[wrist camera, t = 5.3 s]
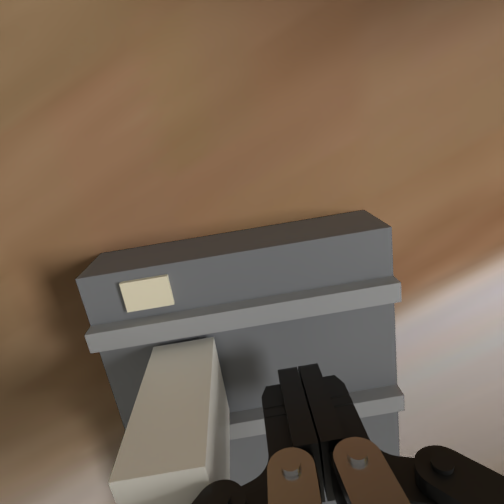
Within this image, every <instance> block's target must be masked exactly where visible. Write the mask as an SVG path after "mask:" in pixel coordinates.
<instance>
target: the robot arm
mask: <svg viewBox="0 0 504 504" xmlns="http://www.w3.org/2000/svg"><path fill="white" fill-rule="evenodd" d="M278 377H279V383H280V384H277V385H271V386H266V387H265V390H264V392H263V395H262V397H261V398H262V406H263V414H264V422H265V430H266V439H267V447H268V463H267V466H266V467H265V469H264V471H263V472H262V473H261V474H260V475H259V476H258V477H257V478H256V479H254V480H252V481H250V482H248V483H246V484H244V485H242V486H240V485H239V484H238V483H236V482H235V481H232V480H225V479H224V480H218V481H215V482H212V483H211V484H209V485H207V486H206V487H205V488H204V489H203V490H202V491H201V492H200V494H199V495H198V496H197V497H196V499H195V500H194V501H193V502H192V504H322V503H323V502H325V494H326V497H327V501H334V500H336V504H504V476H502V475H500V474H499V473H497V472H495V471H493V470H491V469H489V468H487V467H485V466H483V465H481V464H479V463H477V462H475V461H473V460H471V459H469V458H467V457H465V456H463V455H462V454H460V453H458V452H456V451H454V450H452V449H449V448H446V447H443V446H435V445H434V446H427V447H424V448H422V449H420V450H419V451H418V452H417V454H416V455H415V458H409V457H401V456H394V455H391V454H388V453H385V452H383V451H382V450H380V449H379V448H378V446H377V445H376V444H374V443H373V442H371V440H370V439H369V437H368V435H367V432H366V430H365V428H364V426H363V424H362V421H361V419H360V417H359V415H358V412H357V410H356V408H355V406H354V404H353V401H352V399H351V397H350V395H349V392H348V390H347V388H346V386H345V383H344V382H342V381H341V380H340V379H339V378H338V377H336V376H335V375H331V376H325V377H323V376H322V373H321V371H320V368H319V365H318V363H315V364H309V365H303V366H298V369H297V367H291V368H285V369H279V370H278ZM324 490H325V493H324Z"/></svg>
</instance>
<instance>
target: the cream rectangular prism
mask: <svg viewBox="0 0 504 504" xmlns="http://www.w3.org/2000/svg"><path fill="white" fill-rule="evenodd" d="M224 479H225V480H230V421H229V406H228V401H227V396H226V392H225V387H224V382H223V377H222V373H221V368H220V363H219V359H218V354H217V349H216V345H215V340H214V337H210V338H204V339H198V340H192V341H186V342H180V343H174V344H168V345H162V346H156V347H153V350H152V353H151V356H150V359H149V362H148V365H147V368H146V371H145V374H144V377H143V380H142V383H141V386H140V389H139V392H138V395H137V398H136V401H135V404H134V407H133V410H132V413H131V416H130V419H129V422H128V425H127V428H126V431H125V434H124V437H123V440H122V443H121V446H120V449H119V452H118V455H117V458H116V461H115V464H114V467H113V470H112V473H111V476H110V479H109V482H108V484H109V487H110V489H111V492H112V495H113V497H114V500H115V503H116V504H192V502H193V501H194V500H195V499H196V497H197V496H198V495H199V494H200V492H201V491H202V490H203V489H204V488H205V487H206V486H207V485H209V484H211V483H212V482H215V481H218V480H224Z"/></svg>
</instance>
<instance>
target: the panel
mask: <svg viewBox="0 0 504 504" xmlns="http://www.w3.org/2000/svg"><path fill="white" fill-rule="evenodd" d="M75 280H76V283H77V286H78V289H79V292H80V295H81V298H82V301H83V304H84V307H85V310H86V313H87V316H88V319H89V322H90V325H91V326H90V328H89V329H88V331H87V332H86V334H85V335H84V336H85V339H86V342H87V345H88V348H89V350H90V353H97V352H100V355H101V358H102V361H103V364H104V367H105V370H106V374H107V377H108V380H109V383H110V386H111V389H112V392H113V395H114V398H115V401H116V404H117V407H118V410H119V413H120V416H121V419H122V422H123V425H124V428H125V431H126V428H127V425H128V422H129V419H130V416H131V413H132V410H133V407H134V404H135V401H136V398H137V395H138V392H139V389H140V386H141V383H142V380H143V377H144V374H145V371H146V368H147V365H148V362H149V359H150V356H151V353H152V350H153V347H156V346H162V345H168V344H174V343H180V342H186V341H192V340H198V339H204V338H210V337H214V340H215V345H216V349H217V354H218V359H219V363H220V368H221V373H222V377H223V382H224V387H225V392H226V396H227V401H228V406H229V421H230V480H232V481H235V482H236V483H238V484H239V485H240V486H242V485H244V484H246V483H248V482H250V481H252V480H254V479H256V478H257V477H258V476H259V475H260V474H261V473H262V472H263V471H264V469H265V467H266V466H267V463H268V447H267V439H266V430H265V422H264V414H263V406H262V398H261V397H262V395H263V392H264V390H265V387H266V386H271V385H277V384H280V383H279V377H278V370H279V369H285V368H291V367H297V369H298V366H303V365H309V364H315V363H318V365H319V368H320V371H321V373H322V376H323V377H325V376H331V375H335V376H336V377H338V378H339V379H340V380H341V381H342V382H344V383H345V386H346V388H347V390H348V392H349V395H350V397H351V399H352V401H353V404H354V406H355V408H356V410H357V412H358V415H359V417H360V419H361V421H362V424H363V426H364V428H365V430H366V432H367V435H368V437H369V439H370V440H371V442H373V443H374V444H376V445H377V446H378V448H379V449H380V450H382V451H383V452H385V453H388V454H391V455H394V456H400V455H399V426H398V412H399V411H404V394H403V393H402V391H401V390H400V388H399V387H398V385H397V369H396V341H395V312H394V303H396V302H401V282H400V281H399V280H397V279H396V278H395V277H394V276H393V255H392V227H391V226H389V225H388V224H386V223H384V222H383V221H381V220H380V219H378V218H376V217H375V216H373V215H372V214H370V213H368V212H367V211H365V210H361V211H355V212H349V213H343V214H337V215H331V216H325V217H319V218H313V219H307V220H301V221H295V222H288V223H282V224H276V225H270V226H264V227H258V228H252V229H246V230H240V231H234V232H228V233H222V234H216V235H210V236H203V237H197V238H191V239H185V240H179V241H173V242H167V243H161V244H155V245H149V246H143V247H137V248H131V249H125V250H119V251H112V252H106V253H101V254H100V255H99V256H98V257H97V258H96V259H95V260H94V261H93V262H92V263H91V264H90V265H89V266H88V267H87V268H86V269H85V270H84V271H83V272H82V273H81V274H80V275H79V276H78V277H77V278H76V279H75ZM124 434H125V433H124ZM123 437H124V436H123ZM122 440H123V439H122ZM121 443H122V442H121ZM324 493H325V490H324ZM322 504H336V500H334V501H327V497H326V494H325V502H323V503H322Z"/></svg>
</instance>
